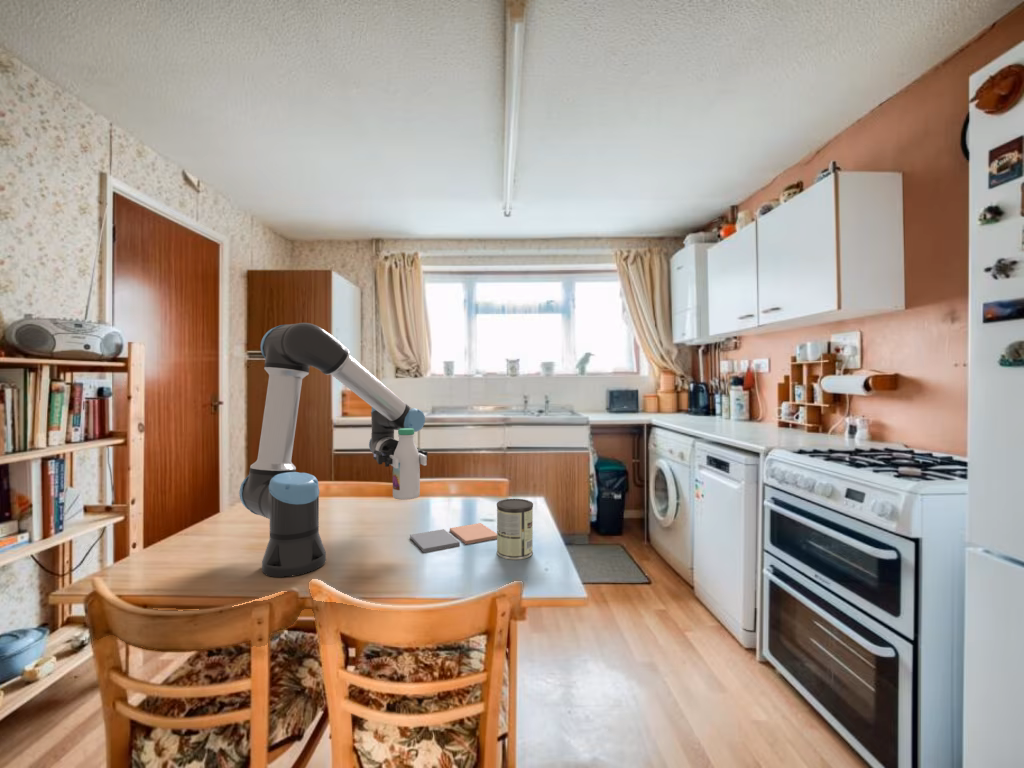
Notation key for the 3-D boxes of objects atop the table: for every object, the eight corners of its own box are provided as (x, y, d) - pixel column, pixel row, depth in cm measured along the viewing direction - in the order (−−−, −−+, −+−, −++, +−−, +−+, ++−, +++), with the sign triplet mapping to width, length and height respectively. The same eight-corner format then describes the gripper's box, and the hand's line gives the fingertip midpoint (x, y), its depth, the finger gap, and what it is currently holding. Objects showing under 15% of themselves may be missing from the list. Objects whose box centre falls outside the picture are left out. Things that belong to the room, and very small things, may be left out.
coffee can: (498, 545, 135) (499, 497, 135) (533, 546, 134) (534, 499, 134) (494, 559, 125) (494, 507, 125) (531, 561, 124) (532, 509, 124)
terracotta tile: (465, 544, 136) (465, 540, 136) (449, 531, 147) (449, 528, 147) (498, 538, 141) (498, 534, 141) (480, 525, 153) (480, 522, 153)
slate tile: (423, 552, 130) (423, 548, 130) (410, 537, 141) (410, 534, 141) (459, 545, 135) (459, 542, 135) (443, 532, 146) (443, 529, 146)
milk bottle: (421, 493, 138) (421, 427, 138) (417, 500, 130) (417, 430, 130) (395, 493, 138) (395, 427, 137) (390, 500, 130) (389, 430, 130)
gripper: (420, 459, 155) (445, 471, 135) (357, 464, 145) (374, 479, 125) (420, 436, 154) (445, 446, 135) (357, 441, 144) (374, 451, 125)
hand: (411, 462), depth 130 cm, fingers closed on milk bottle, 7 cm apart
